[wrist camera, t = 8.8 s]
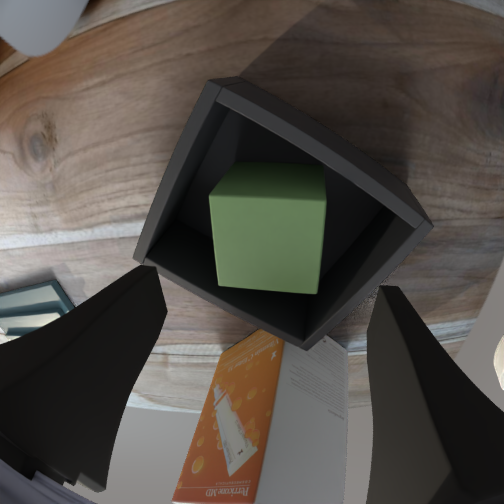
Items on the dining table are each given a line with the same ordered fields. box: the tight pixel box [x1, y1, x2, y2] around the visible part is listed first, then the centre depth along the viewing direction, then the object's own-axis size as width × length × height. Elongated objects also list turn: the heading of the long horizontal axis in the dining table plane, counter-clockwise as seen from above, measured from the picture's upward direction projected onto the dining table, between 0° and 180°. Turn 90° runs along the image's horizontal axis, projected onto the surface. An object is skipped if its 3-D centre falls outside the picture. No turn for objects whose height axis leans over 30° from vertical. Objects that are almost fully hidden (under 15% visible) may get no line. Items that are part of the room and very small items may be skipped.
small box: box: [172, 329, 348, 504], centre depth 18 cm, size 8×6×13 cm
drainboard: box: [0, 280, 75, 340], centre depth 30 cm, size 20×12×1 cm, turn 109°
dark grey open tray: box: [133, 76, 434, 351], centre depth 15 cm, size 10×9×4 cm
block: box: [209, 162, 327, 294], centre depth 14 cm, size 4×4×4 cm
